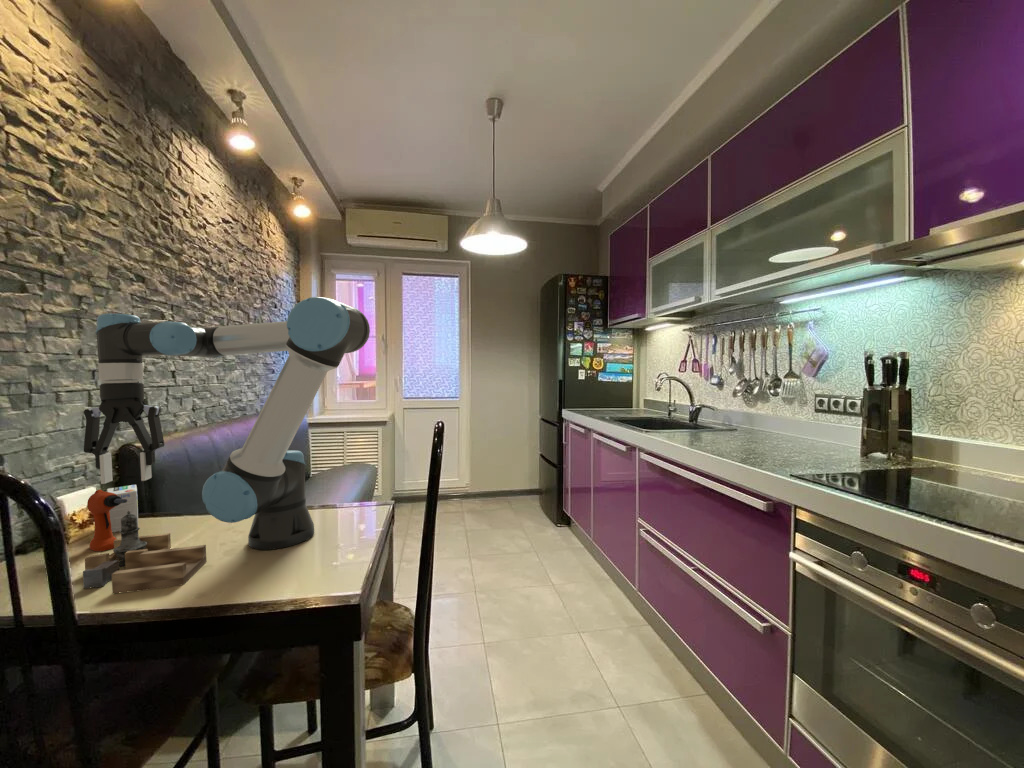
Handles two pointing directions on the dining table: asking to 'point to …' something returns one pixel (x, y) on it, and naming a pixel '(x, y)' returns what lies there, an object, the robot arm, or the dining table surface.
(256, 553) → the dining table surface
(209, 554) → the dining table surface
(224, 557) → the dining table surface
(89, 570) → the bar
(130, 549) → the chess piece
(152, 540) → the socket frame
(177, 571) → the rack
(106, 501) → the toy drill
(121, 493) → the light bulb box
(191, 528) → the dining table surface
